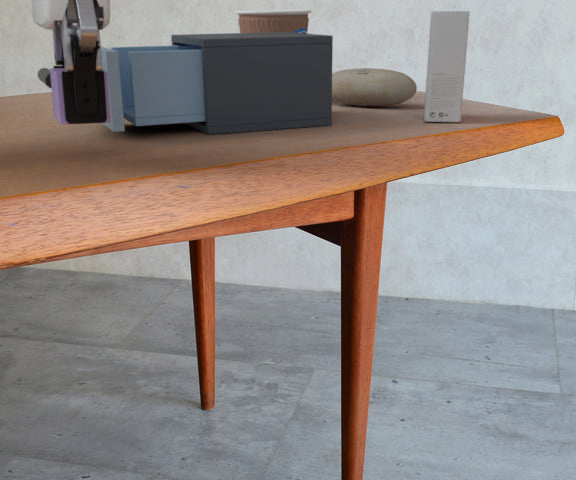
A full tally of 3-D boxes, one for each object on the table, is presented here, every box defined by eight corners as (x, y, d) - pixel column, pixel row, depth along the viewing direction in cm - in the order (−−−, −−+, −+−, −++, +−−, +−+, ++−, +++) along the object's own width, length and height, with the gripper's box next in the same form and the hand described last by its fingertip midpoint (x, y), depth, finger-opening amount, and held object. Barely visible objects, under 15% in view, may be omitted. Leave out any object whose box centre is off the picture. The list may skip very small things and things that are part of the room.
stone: (415, 89, 92) (325, 60, 93) (401, 132, 96) (315, 103, 98) (424, 70, 96) (338, 42, 97) (410, 112, 100) (328, 84, 102)
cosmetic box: (461, 123, 84) (470, 10, 79) (423, 122, 84) (430, 11, 80) (459, 115, 89) (467, 10, 85) (423, 115, 90) (430, 10, 86)
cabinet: (208, 134, 78) (203, 39, 74) (176, 119, 88) (171, 34, 85) (331, 125, 83) (332, 35, 80) (287, 111, 94) (286, 32, 90)
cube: (60, 124, 59) (55, 72, 57) (54, 117, 62) (49, 68, 61) (110, 122, 60) (107, 72, 59) (101, 115, 64) (98, 67, 62)
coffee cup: (288, 107, 97) (287, 10, 93) (224, 102, 102) (220, 10, 98) (323, 98, 106) (324, 9, 101) (262, 95, 111) (261, 9, 106)
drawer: (54, 136, 72) (44, 53, 69) (41, 120, 82) (32, 47, 79) (238, 123, 79) (236, 47, 76) (206, 110, 89) (203, 42, 86)
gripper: (1, -122, 60) (24, 106, 67) (19, -157, 46) (47, 137, 53) (94, -115, 63) (108, 103, 70) (138, -145, 49) (150, 133, 56)
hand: (81, 115), depth 61 cm, fingers closed on cube, 4 cm apart
